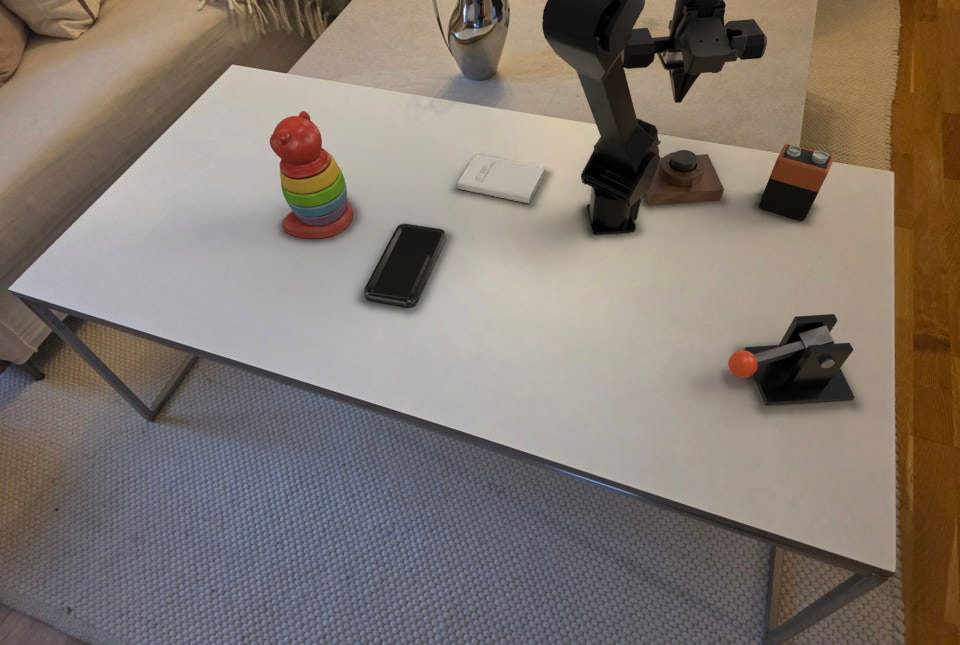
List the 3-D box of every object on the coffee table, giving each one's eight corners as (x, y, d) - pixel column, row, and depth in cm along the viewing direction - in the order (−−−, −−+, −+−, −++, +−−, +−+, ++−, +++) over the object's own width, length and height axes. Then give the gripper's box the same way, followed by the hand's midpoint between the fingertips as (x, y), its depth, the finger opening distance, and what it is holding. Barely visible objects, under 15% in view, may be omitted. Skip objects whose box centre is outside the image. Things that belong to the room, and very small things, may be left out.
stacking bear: (320, 190, 99) (286, 92, 85) (369, 206, 95) (342, 107, 81) (278, 230, 93) (234, 133, 79) (328, 249, 90) (292, 151, 76)
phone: (361, 294, 82) (399, 222, 91) (363, 299, 83) (400, 227, 92) (414, 303, 80) (447, 229, 89) (415, 308, 81) (448, 235, 90)
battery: (803, 222, 87) (831, 167, 79) (756, 208, 89) (779, 153, 82) (811, 205, 89) (838, 149, 81) (765, 192, 92) (787, 136, 84)
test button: (673, 174, 90) (675, 165, 89) (668, 160, 92) (670, 150, 91) (697, 172, 90) (699, 163, 89) (691, 158, 92) (693, 148, 91)
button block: (649, 205, 91) (653, 185, 88) (637, 169, 97) (641, 149, 94) (720, 200, 91) (727, 179, 88) (704, 165, 97) (710, 144, 93)
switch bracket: (763, 408, 68) (790, 366, 62) (742, 352, 73) (764, 307, 67) (850, 402, 68) (887, 359, 61) (823, 347, 73) (854, 301, 66)
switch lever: (735, 386, 69) (730, 373, 67) (727, 363, 71) (722, 350, 69) (837, 357, 65) (835, 342, 63) (826, 334, 67) (823, 319, 65)
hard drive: (529, 205, 93) (457, 189, 97) (545, 174, 98) (476, 160, 101) (529, 197, 92) (457, 181, 95) (545, 166, 96) (476, 152, 100)
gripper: (640, 23, 69) (623, 138, 81) (801, 10, 68) (759, 128, 80) (622, -17, 76) (609, 95, 88) (768, -29, 75) (735, 85, 87)
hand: (677, 101), depth 86 cm, fingers closed
